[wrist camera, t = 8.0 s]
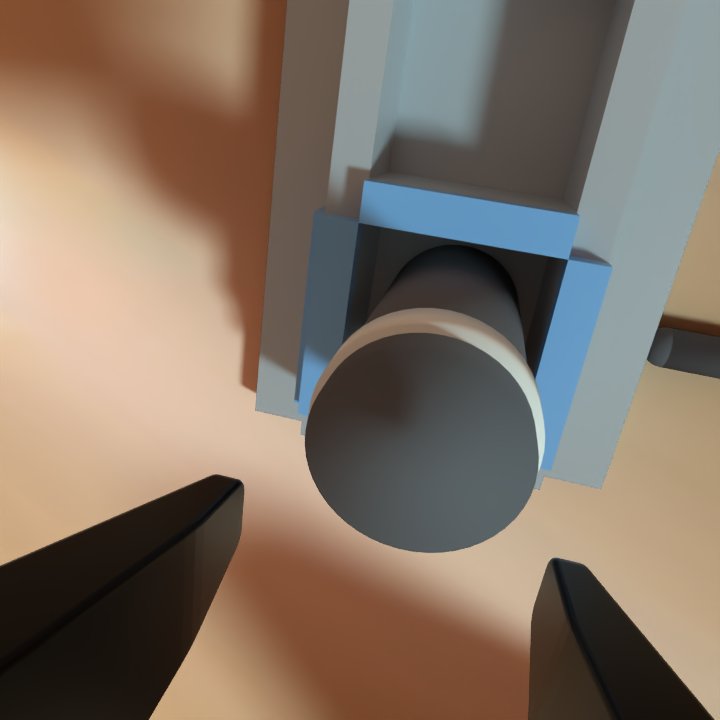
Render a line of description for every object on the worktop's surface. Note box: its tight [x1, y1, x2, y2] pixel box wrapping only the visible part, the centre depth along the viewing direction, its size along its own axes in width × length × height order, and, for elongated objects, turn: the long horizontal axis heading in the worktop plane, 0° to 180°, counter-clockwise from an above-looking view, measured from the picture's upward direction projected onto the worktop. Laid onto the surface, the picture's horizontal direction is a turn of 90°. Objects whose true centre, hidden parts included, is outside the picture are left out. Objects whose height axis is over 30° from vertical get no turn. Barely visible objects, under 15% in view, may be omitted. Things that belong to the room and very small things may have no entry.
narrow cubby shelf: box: [255, 0, 720, 490], centre depth 15 cm, size 12×23×5 cm, turn 172°
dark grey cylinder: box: [305, 245, 545, 553], centre depth 14 cm, size 4×4×9 cm
